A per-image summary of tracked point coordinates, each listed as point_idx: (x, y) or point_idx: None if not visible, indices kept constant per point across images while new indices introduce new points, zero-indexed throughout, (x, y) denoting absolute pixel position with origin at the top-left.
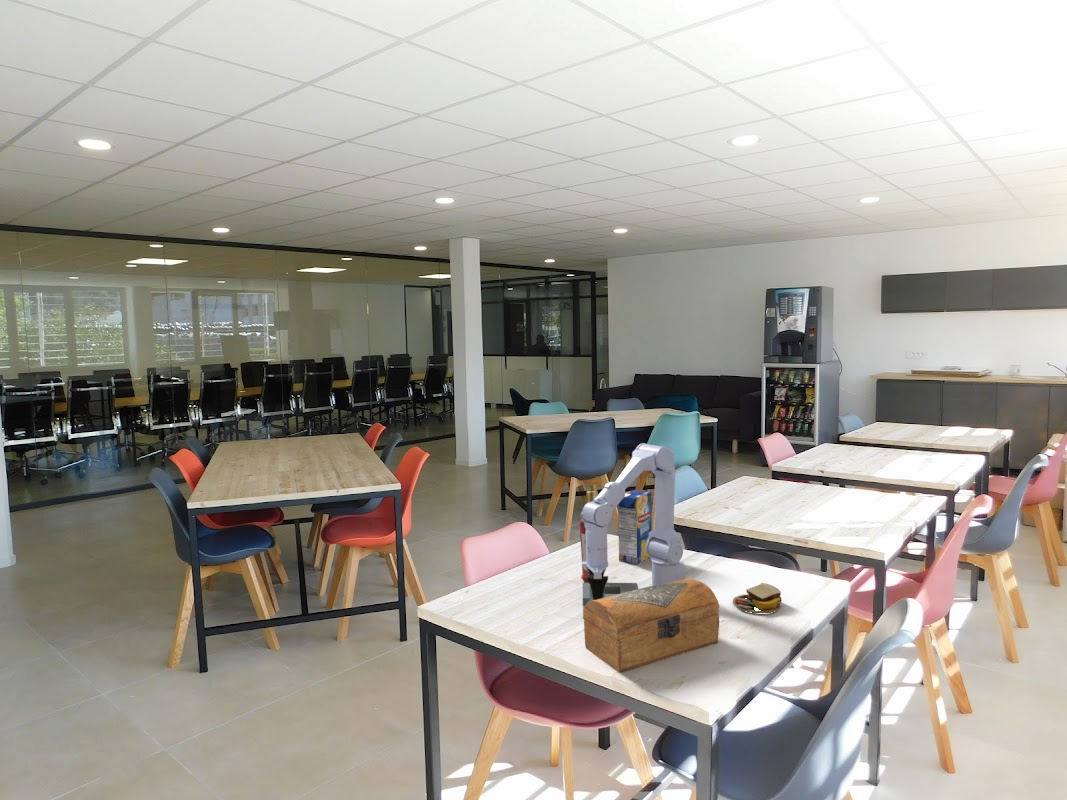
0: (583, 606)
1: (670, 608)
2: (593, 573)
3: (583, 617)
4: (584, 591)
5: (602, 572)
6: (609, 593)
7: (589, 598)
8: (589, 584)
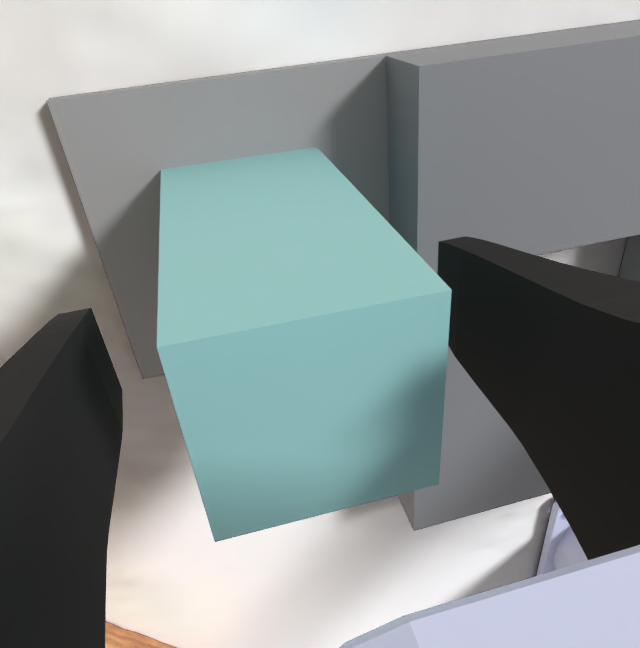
0: (357, 67)
1: None
2: (602, 384)
3: (48, 106)
4: (620, 63)
5: (582, 519)
6: (631, 270)
7: (415, 154)
8: (205, 338)
